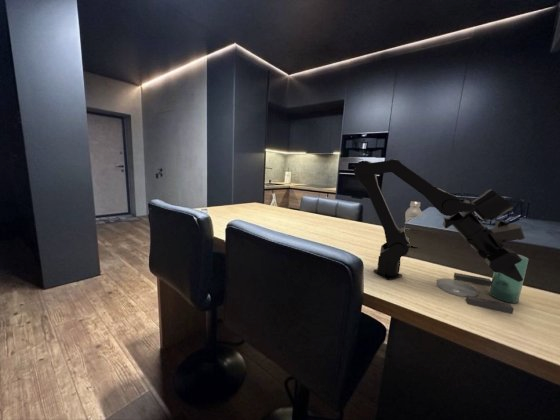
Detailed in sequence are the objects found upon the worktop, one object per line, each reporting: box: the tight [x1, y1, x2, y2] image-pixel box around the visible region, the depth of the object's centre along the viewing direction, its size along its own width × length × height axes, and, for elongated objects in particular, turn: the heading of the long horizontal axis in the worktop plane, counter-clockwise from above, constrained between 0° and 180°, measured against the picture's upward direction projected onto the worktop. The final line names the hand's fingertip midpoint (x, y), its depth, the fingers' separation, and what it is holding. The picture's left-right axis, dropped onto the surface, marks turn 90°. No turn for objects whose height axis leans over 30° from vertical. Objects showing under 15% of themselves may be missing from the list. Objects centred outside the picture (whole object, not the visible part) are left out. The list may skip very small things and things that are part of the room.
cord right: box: [465, 295, 514, 314], centre depth 62 cm, size 9×2×2 cm, turn 64°
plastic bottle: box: [404, 200, 423, 223], centre depth 105 cm, size 6×7×20 cm
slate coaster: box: [435, 277, 479, 298], centre depth 71 cm, size 10×10×1 cm
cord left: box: [453, 272, 492, 287], centre depth 75 cm, size 9×2×2 cm, turn 64°
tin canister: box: [489, 253, 530, 304], centre depth 65 cm, size 6×6×12 cm
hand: (515, 275), depth 64 cm, fingers closed on tin canister, 6 cm apart
